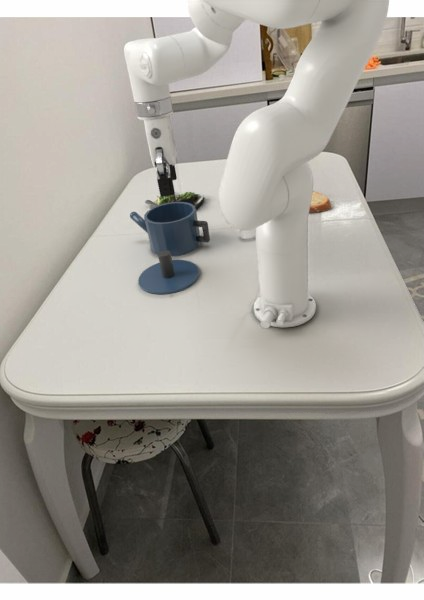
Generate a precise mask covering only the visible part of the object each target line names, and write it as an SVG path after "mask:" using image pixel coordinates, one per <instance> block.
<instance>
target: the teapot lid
mask: <svg viewBox="0 0 424 600" xmlns="http://www.w3.org/2000/svg"><path fill="white" fill-rule="evenodd" d="M157 257H158V262H157V263H155V264H152V265H151V266H149V267H147V268H145V269H144V270H143V271H142V272H141V273H140V275H139V277H138V285H139V288H140V289H141V290H142V291H144V292H146V293H147V294H148V293H149V294H152V295H169V294H176V293H179V292H181V291H184V290H186V289H188V288H189V287H191V286H192V285H194V284H195V283H196V282H197V281H198V279H199V278H200V269H199V267H198V265H197V264H196V263H194V262H192V261H190V260H187V259H186V260H185V259H172V258H173V257H171V253H170V251H168V250H164V251H161V252H159V253H158V255H157Z"/></svg>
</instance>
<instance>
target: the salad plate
mask: <svg viewBox="0 0 424 600" xmlns="http://www.w3.org/2000/svg"><path fill="white" fill-rule="evenodd" d="M156 197H157V199H156V200H154V201H152V200H150V199H146V200H144V204H146V205H148V207H147V209H148V211H149V210H150V209H152V208H153V207H156V206H158V205H161V204H166V203H171V202H186V203H191V204H192V205H194V206H195V208H196V210H197V209H199V208H200V207H201V206H202V204H203V203H204V200H205V196H204V194H202V193H201V192H192V191H186V192H184V191H175V194H174V195H171V196H163V197H162V196H159V195H157V196H156Z"/></svg>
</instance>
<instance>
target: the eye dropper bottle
mask: <svg viewBox="0 0 424 600" xmlns="http://www.w3.org/2000/svg"><path fill="white" fill-rule="evenodd" d="M239 234H240V238H241V239H242V240H250V239H255V240H256V228H255V229H251V230H239Z"/></svg>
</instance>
